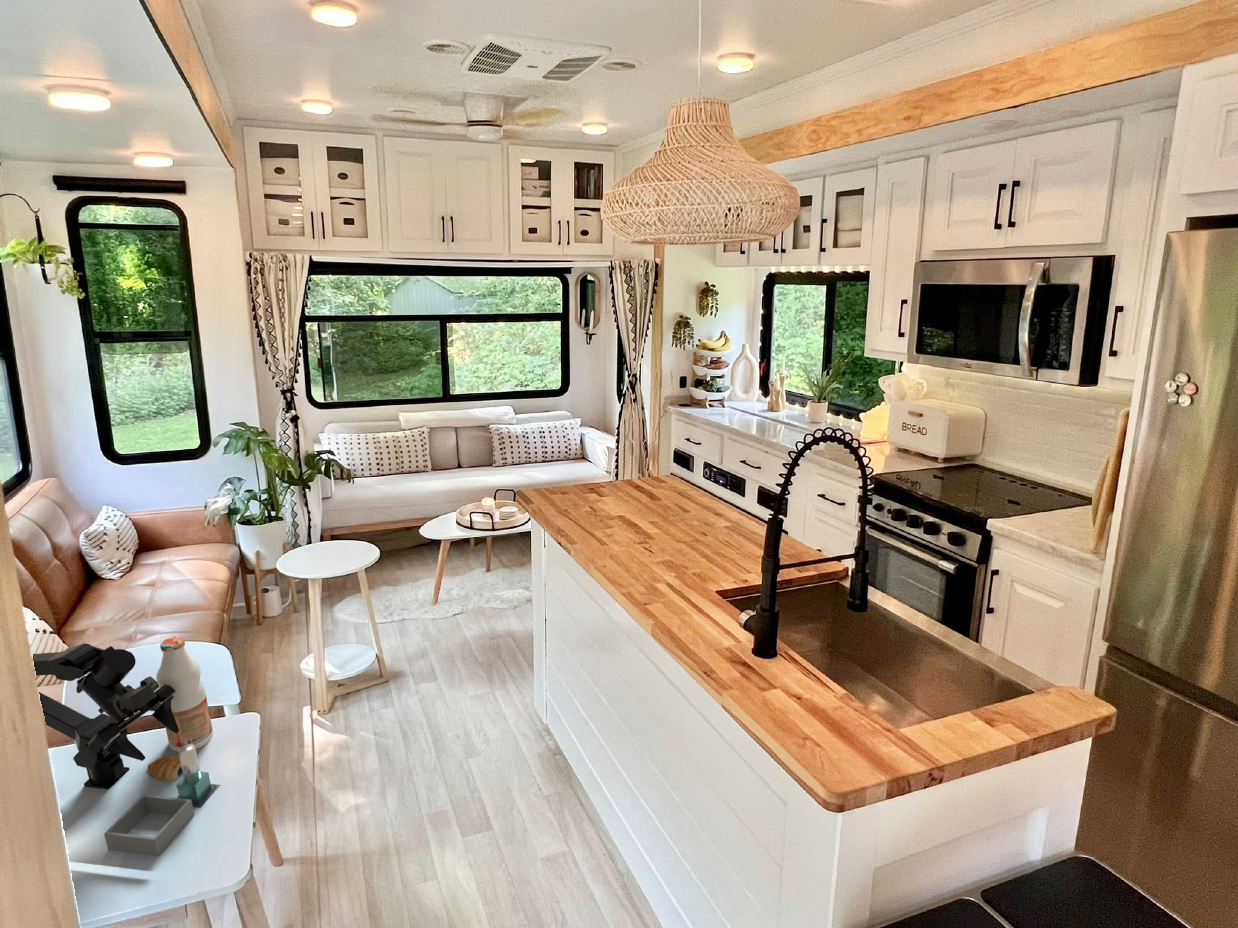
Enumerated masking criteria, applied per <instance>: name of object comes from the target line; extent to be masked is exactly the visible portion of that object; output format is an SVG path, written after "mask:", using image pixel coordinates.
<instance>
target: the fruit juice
mask: <svg viewBox="0 0 1238 928" xmlns="http://www.w3.org/2000/svg"><path fill="white" fill-rule="evenodd" d="M185 646H186V641H185V639H184V637H182V636H179V635H178V636H170V637H168V638H165V639H163V640H162V641H161V642H160V646H159V647H160V648H159V649H160V650H161V653H162V657H161V661H160V662H161V663H160V665H159V667H158V668H159V669H158V670H157V672H156V675H155V677H156V678H155V680H156V682H157V683H158V685H159V688H161V687H162V686H163V685H165V684H166V685H170V686H172V687H173V688H174V689H175V690H176V692H175V693H174V694H173V695H172V696H173V697H174V698H173V699H172V700H171V709H172V713H173V716H174V718H175V721H176V723H177V726H178V728H179V732H178V733H177V734H176V733H174V732H172V731H171V730H169V729H168V728H167V727H166V726H165V731H166V735H167V741H168V745H169V748H170V749H171V750H172V751H173V752H177V753H178V750H179V749H180V748H181V747H182V746H184V745H188V744H193V745H195V749H196V750H197V749H199V748H201V747H203V746H205V745H206V744H208V743H209V742H210V741H211V739H212V738H213V735H214V732H213V726H212V719H211V715H210V710H209V705H208V699H207V693H206V689H205V685H204V683H203V682H202V680H201V673H202V671H201V670H202V669H201V666H200V665H199V663H198V662H197V661H196V660H195V659H194V658H192V657H191V656H190V654H189V653H188V652H187V650H186V648H185ZM159 688H158V689H159Z"/></svg>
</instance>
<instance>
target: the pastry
mask: <svg viewBox="0 0 1238 928" xmlns="http://www.w3.org/2000/svg"><path fill="white" fill-rule="evenodd" d="M146 770H147V772H148V773H149V774H150V775H151V776H152V777H155V779H156V780H157V779H158V780H164V781H167V782H170V783H171V782H174V781H176V780H177V779H178V778H180V776H181V774H183V773H182V768H181V763H180V758H179V755H175V756H171V757H170V756H169V757H168V756H164V757H160V758H158V759H155V760H154V761H152V762H151V763H149V764H148V765H147V769H146Z"/></svg>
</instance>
